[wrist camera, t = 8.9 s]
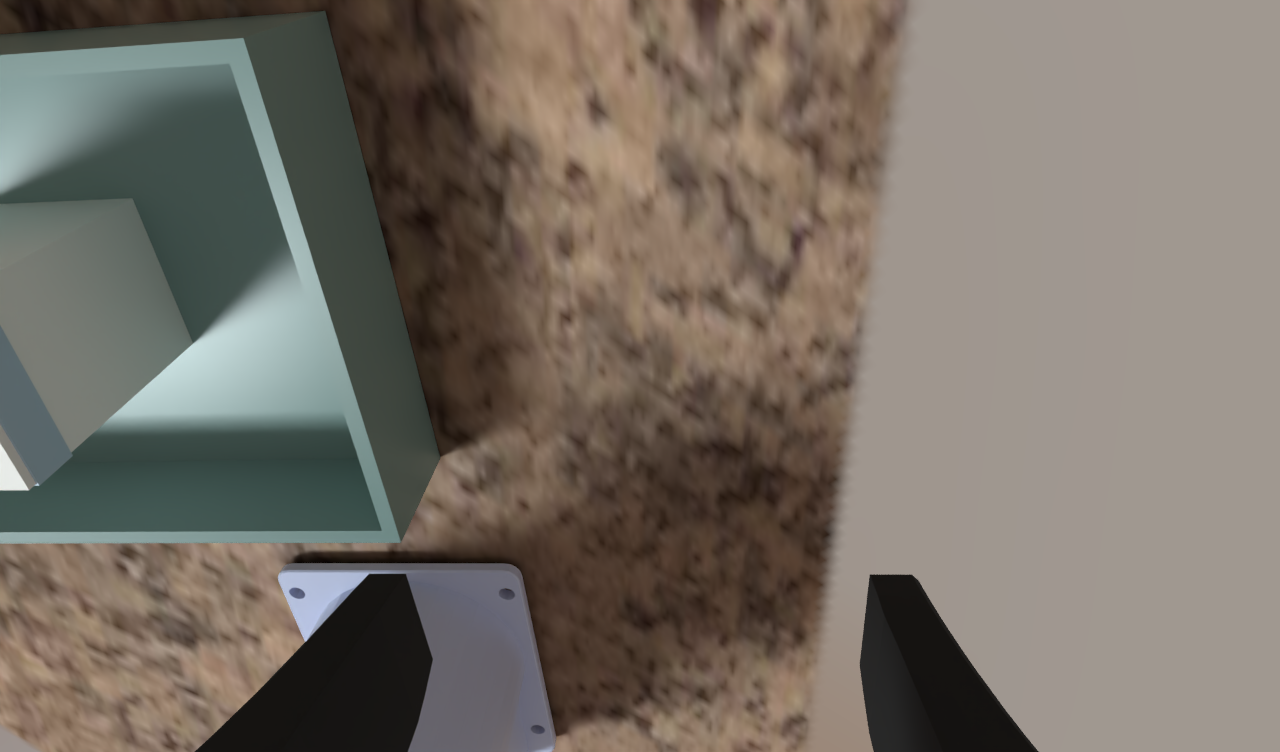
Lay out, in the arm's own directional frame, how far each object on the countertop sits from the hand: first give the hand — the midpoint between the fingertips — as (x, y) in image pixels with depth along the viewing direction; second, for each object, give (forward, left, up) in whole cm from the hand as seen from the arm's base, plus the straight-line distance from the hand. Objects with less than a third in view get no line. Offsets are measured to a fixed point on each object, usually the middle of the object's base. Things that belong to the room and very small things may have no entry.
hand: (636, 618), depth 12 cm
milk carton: (+2, +15, -9) cm, 17 cm away
